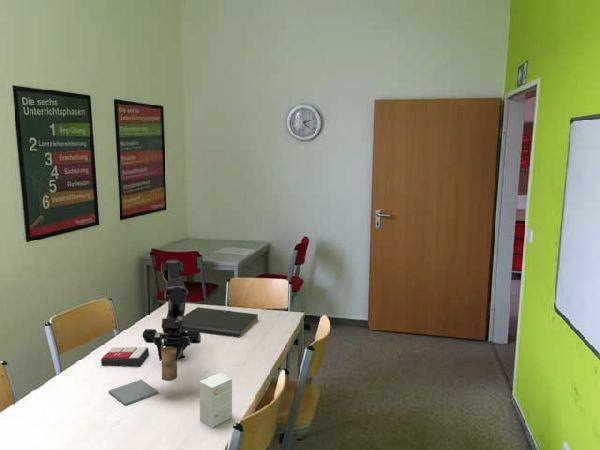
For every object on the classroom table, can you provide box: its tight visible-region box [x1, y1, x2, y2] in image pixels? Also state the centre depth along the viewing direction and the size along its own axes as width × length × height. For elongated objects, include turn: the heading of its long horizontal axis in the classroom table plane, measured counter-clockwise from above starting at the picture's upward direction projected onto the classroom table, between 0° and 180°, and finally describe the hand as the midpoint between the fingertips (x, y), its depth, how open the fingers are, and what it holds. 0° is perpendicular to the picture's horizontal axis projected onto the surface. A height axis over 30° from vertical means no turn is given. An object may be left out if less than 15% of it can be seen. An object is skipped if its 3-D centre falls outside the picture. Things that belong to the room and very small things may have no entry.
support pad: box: [108, 379, 160, 407], centre depth 165 cm, size 12×12×1 cm
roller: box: [161, 346, 178, 382], centre depth 162 cm, size 5×5×10 cm
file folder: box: [183, 306, 259, 338], centre depth 232 cm, size 33×4×24 cm
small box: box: [198, 372, 233, 429], centre depth 149 cm, size 8×6×13 cm
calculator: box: [100, 346, 150, 368], centre depth 190 cm, size 11×4×15 cm
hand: (168, 360), depth 160 cm, fingers closed on roller, 5 cm apart
